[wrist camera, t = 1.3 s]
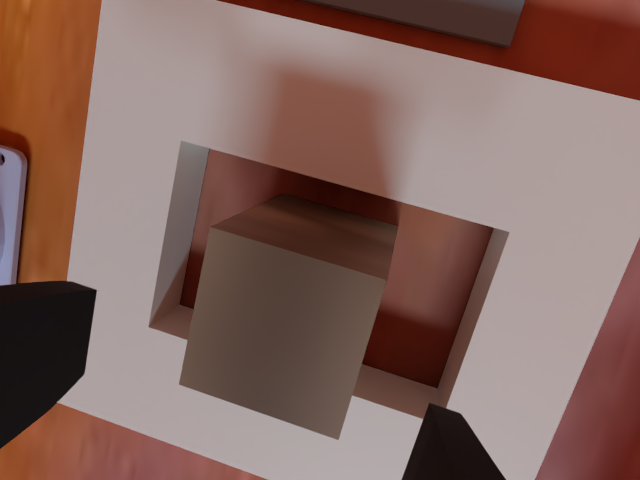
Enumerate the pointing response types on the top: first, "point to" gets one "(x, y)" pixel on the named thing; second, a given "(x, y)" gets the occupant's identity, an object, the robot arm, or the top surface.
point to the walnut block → (288, 310)
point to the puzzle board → (358, 173)
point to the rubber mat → (444, 16)
